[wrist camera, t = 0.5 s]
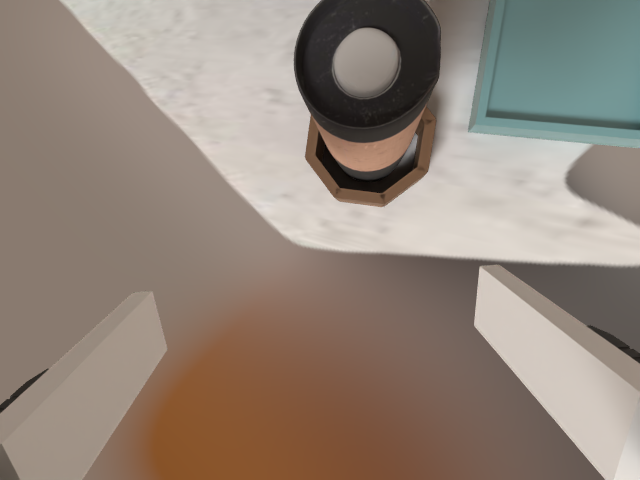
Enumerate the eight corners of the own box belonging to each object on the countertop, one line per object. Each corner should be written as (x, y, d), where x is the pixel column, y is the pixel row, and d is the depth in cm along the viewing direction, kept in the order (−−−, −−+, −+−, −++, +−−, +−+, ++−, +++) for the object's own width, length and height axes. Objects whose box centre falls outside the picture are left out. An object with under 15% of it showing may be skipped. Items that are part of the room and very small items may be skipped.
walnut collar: (323, 91, 36) (316, 71, 32) (433, 100, 35) (442, 81, 30) (308, 197, 37) (300, 193, 33) (415, 211, 35) (422, 209, 31)
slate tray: (494, -26, 33) (503, -46, 31) (672, -21, 31) (698, -43, 28) (467, 132, 34) (475, 124, 32) (638, 148, 32) (661, 141, 29)
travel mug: (320, 151, 37) (261, 60, 17) (370, 100, 36) (368, -59, 16) (367, 199, 36) (362, 164, 16) (419, 149, 35) (481, 47, 15)
